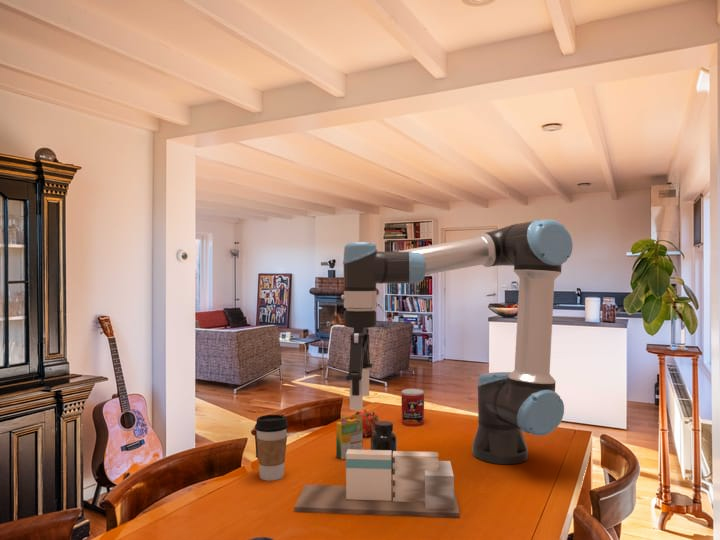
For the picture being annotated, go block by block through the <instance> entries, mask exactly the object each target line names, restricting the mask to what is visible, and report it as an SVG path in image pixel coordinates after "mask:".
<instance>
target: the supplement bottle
mask: <svg viewBox="0 0 720 540" xmlns="http://www.w3.org/2000/svg"><path fill="white" fill-rule="evenodd" d="M374 430H375V431H373V432H372V434H370V450H392V473H393V451H398V450H397V449H398V444H397V443H398V438H397V435H396V434H395V433H394V432H393V431H394V424H393V422H392V421H387V420H378V422H375V428H374Z"/></svg>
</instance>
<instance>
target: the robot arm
mask: <svg viewBox="0 0 720 540" xmlns="http://www.w3.org/2000/svg"><path fill="white" fill-rule="evenodd" d="M572 252H573V239H572V236H571V234H570V232H569V230H568V229H567V228H566V227H565V226H564V224H562V223H561V222H559V221H557V220H555V219H536V220H531V221H526V222H522V223H521V222H520V223H514V224H511V225H508V226H507V225H506V226H504V227H501V228H498V229H494V230H491V231H488V232H482V233H480V234H478V236H477V237H473V238H468V239H463V240H456V241H450V242H444V243H439V244H432V245H426V246H421V247H420V246H419V247H413V248H409V249H408V248H407V249H402V250H401V249H400V250H397V251H379V250H378V249H377V244H376V243H374V242H371V241H370V242H369V241H354V242H348V243H346V244H345V245H344V248H343V261H342V264H343V294H341V296H340V297H341V300H343V308H344V309H346V310H344V311H343V326H344V327H345V328H353V332H352V333H350V335H349V338H350V339H349V340H350V348H349V349H350V350H349V362H348V374H347V375H346V377H345V379H346V380H345V381H349V410H350V411H364V406H363V403H364V397H370V369H372V368H373V363H372V362H371V360H370V359H371V358H370V334H369V328H375V327H376V326H377V312H376V310H375V309H376V308H377V299H378V298H377V294H378V293H377V284H379V285H380V284H408V285H410V284H419V283H422V282H423V281H424V280H425V276H427V275H432V274H438V273H444V272H449V271H454V270H460V269H465V268H470V267H475V266H483V267H485V268H491V267H496V266H497V267H499V266H501V267H502V266H507V267H508V266H510V267H511V266H512V267H513V272H514V274H516V276H518V278H519V279H518V280H519V281H518V283H519V284H518V298H517V299H518V300H517V318H516V334H515V335H516V336H515V354H514V369H513V371H511V372H510V371H506V372H505V371H504V372H503V371H499V372H485V373H481V374H480V375H479V376H478V378H477V379H478V380H477V386H476V388H477V410H478V411H477V412H478V413H477V417H478V418H477V419H478V425H477V428H476V431H475V435H474V438H473V442H472V447H471V449H472V450H471V451H472V452H471V453H472V455H473V456H474V457H475V458H477V459H478V460H480V461H484V462H487V463H491V464H498V465H513V464H515V465H516V464H521V463H524V462H526V461H527V460H528V459H529V449H528V446H527V443H526V439H525V436H524V434H523V432H524V433H525V434H531V435H534V436H541V437H542V436H547V435H549V434H550V433H552V432H553V431H555V429H556V428H558V427H559V426H560V424H561V423H562V420H563V418H564V414H565V404H564V401H563V399H562V398H561V396H560V395H559V394H558V393H557V392H556V383H557V382H556V379H554V377H553V376H552V375H551V374H550V371H551V356H552V355H551V353H552V335H553V318H554V317H553V315H554V314H553V313H554V295H555V294H554V293H555V281H556V279H557V278H558V277H560V276H561V274H562V265H563V264H565V263H567V261H568V259H569V258H570V257H571V255H572Z"/></svg>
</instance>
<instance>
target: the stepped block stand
mask: <svg viewBox="0 0 720 540" xmlns="http://www.w3.org/2000/svg"><path fill="white" fill-rule="evenodd" d="M454 479H455V476H454V471H453V467H452V463H451V460H439V452H438V451H413V450H412V451H410V450H397V451H393V472H392V500H391V501H383V500H354V499H346V485H331V484H330V485H329V484H328V485H326V484H325V485H324V484H304V486H303V489H302V490H301V493H300V495H299V496H298V499H297V500H296V503H295V505H294V506H293V512H295V511H296V512H295V513H317V514H319V513H320V514H347V515H371V516H372V515H373V516H401V517H402V516H404V517H424V518H425V517H427V518H428V517H430V518H451V519H452V518H453V519H454V518H455V519H457V518H458V519H459V518H460V517H461V516H460V508H459V505H458V500H457V496H456V492H455V482H454V481H455V480H454Z"/></svg>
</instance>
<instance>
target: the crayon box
mask: <svg viewBox="0 0 720 540" xmlns="http://www.w3.org/2000/svg"><path fill="white" fill-rule="evenodd" d="M353 415H354V414H353ZM350 418H357V419H353V420H350ZM335 436H336V437H335V438H336V439H335V441H336V442H335V446H336V448H335V450H336V452H335V453H336V459H338V460H340V461H343V460H346V452H347V449H354V450H364V444H363V443H364V439H363V437H364V434H363V429H362V414H359V415H354V416H352V415H349V416H343V417H340V421H337V422H335Z"/></svg>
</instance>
